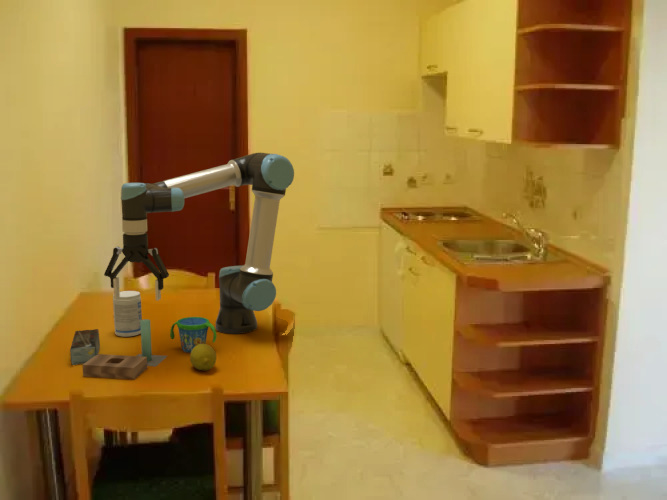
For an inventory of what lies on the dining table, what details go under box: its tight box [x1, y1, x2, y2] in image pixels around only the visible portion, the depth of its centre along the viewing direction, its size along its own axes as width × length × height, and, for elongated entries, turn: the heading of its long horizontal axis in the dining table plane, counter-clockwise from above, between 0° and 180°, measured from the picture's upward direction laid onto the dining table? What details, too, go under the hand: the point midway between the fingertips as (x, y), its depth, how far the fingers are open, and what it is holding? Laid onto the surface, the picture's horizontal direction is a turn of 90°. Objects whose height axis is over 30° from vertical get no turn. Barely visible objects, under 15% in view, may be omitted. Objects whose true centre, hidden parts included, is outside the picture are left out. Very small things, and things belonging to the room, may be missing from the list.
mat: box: [136, 353, 168, 367], centre depth 236 cm, size 10×10×1 cm
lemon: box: [189, 343, 217, 372], centre depth 229 cm, size 11×8×8 cm
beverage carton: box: [69, 328, 101, 366], centre depth 241 cm, size 8×19×7 cm, turn 14°
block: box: [82, 353, 148, 381], centre depth 225 cm, size 16×10×4 cm, turn 81°
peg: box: [140, 318, 153, 362], centre depth 235 cm, size 3×3×13 cm
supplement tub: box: [112, 290, 143, 338], centre depth 264 cm, size 10×10×15 cm
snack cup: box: [169, 316, 218, 354], centre depth 247 cm, size 16×10×10 cm
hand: (137, 298), depth 236 cm, fingers open, 13 cm apart
